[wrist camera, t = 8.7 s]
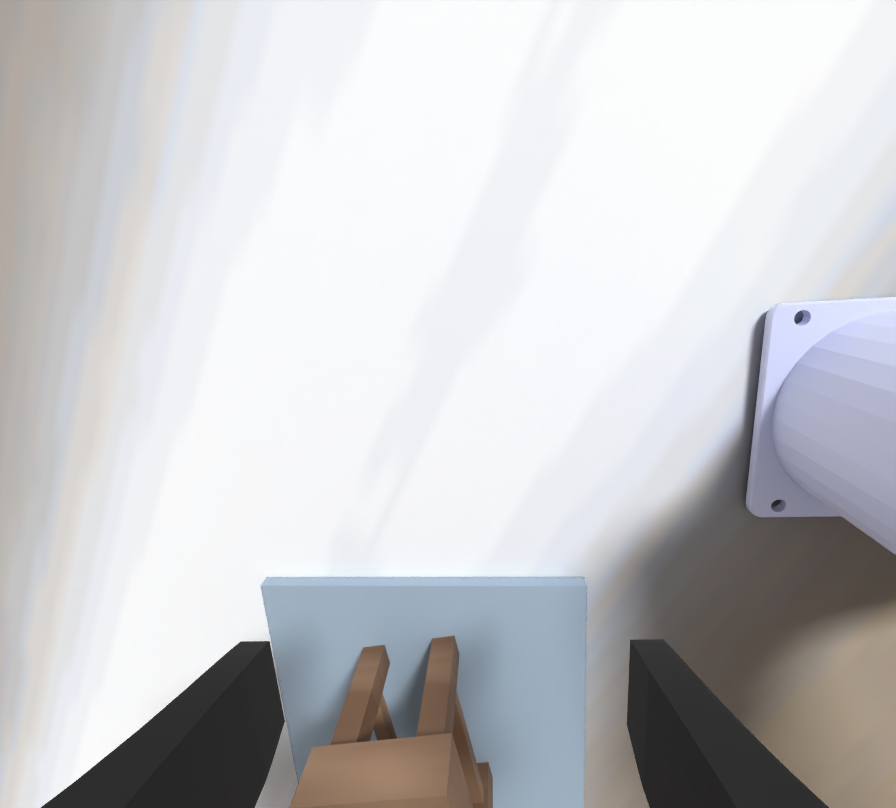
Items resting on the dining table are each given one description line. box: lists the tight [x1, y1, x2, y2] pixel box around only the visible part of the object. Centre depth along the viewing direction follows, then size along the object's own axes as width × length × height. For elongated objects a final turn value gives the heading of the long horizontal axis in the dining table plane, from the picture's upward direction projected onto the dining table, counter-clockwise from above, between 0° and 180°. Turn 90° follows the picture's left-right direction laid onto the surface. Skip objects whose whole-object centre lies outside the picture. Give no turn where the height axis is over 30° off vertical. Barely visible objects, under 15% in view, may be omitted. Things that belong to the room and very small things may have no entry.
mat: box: [261, 577, 587, 808], centre depth 23 cm, size 14×14×1 cm
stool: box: [290, 636, 493, 808], centre depth 19 cm, size 9×5×7 cm, turn 13°
